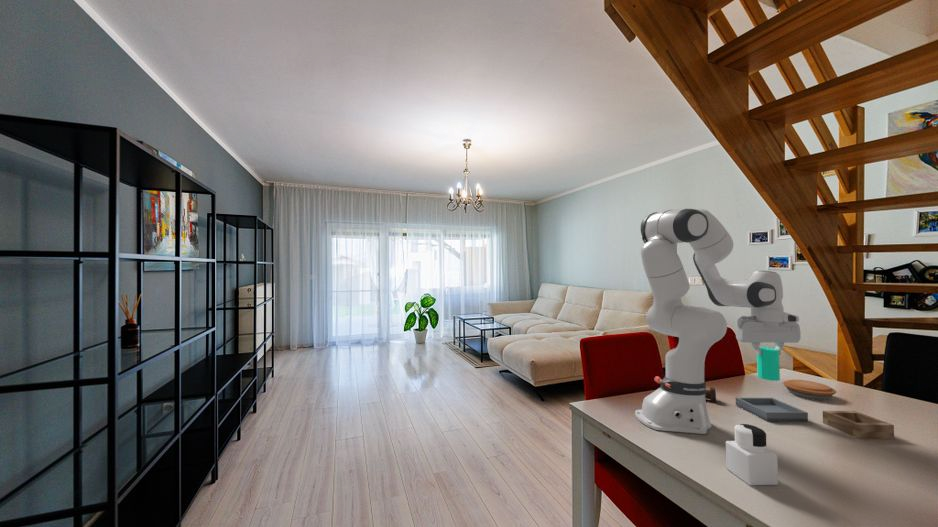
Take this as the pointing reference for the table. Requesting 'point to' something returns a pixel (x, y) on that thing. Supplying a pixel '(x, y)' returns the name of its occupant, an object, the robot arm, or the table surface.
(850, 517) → the table surface
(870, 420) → the brown wooden open box
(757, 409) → the tray
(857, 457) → the table surface
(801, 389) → the pie
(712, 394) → the dark brown oblong piece
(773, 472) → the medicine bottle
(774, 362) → the teal green prism
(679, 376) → the robot arm
